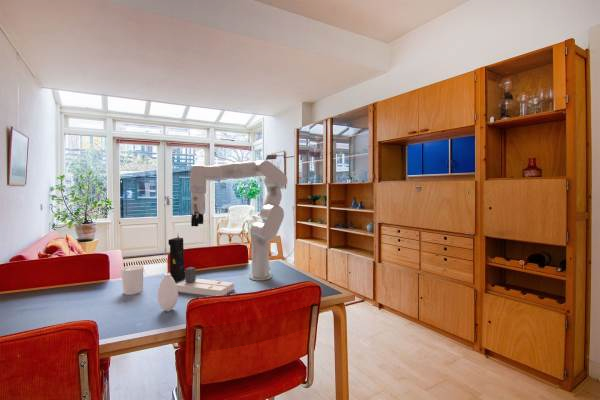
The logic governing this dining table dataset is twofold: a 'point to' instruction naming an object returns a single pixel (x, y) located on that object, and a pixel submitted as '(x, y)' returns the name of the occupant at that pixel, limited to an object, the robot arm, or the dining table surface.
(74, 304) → the dining table surface
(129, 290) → the candle holder
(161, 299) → the sauce bottle
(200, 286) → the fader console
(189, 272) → the fader tab
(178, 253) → the portable radio
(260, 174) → the robot arm
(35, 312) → the dining table surface
